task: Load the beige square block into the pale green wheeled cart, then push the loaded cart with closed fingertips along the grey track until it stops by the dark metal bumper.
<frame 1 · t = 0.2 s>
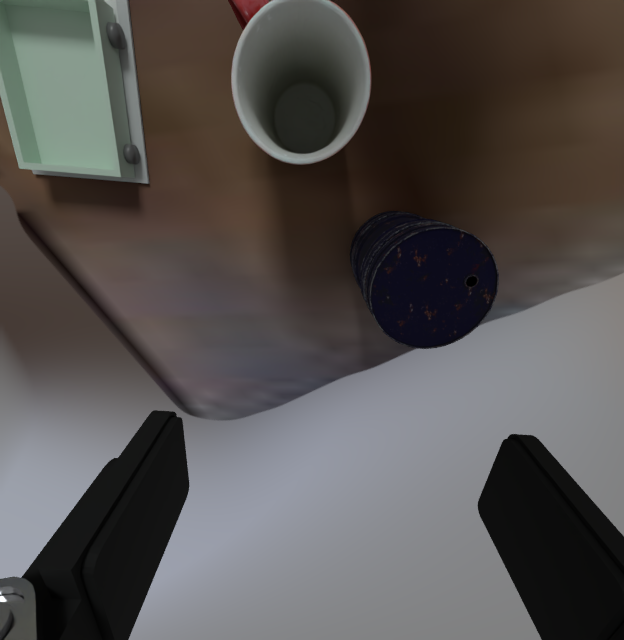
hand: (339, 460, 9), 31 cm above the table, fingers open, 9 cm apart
cart: (64, 92, 30), point 2 cm above the table, slide at 0.0 cm
mug: (296, 105, 32), on the table
track: (61, 3, 29), on the table
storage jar: (389, 253, 38), on the table
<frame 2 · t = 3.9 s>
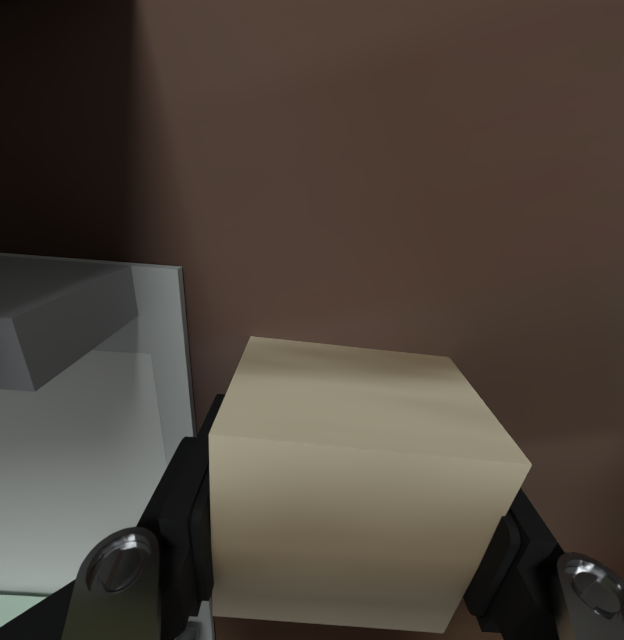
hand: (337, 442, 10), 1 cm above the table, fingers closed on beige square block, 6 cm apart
beige square block: (336, 425, 11), on the table, touching gripper
track: (71, 578, 14), on the table
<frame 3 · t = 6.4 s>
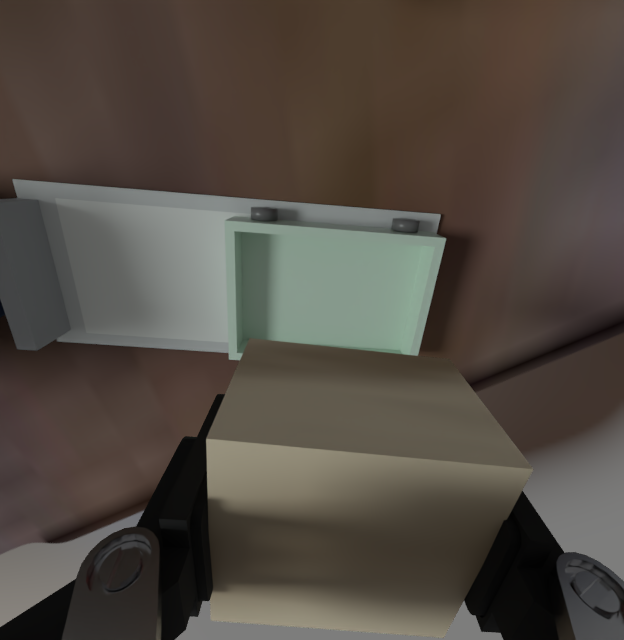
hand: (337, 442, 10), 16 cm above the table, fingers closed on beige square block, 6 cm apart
cart: (327, 297, 23), point 2 cm above the table, slide at 0.0 cm
beige square block: (336, 427, 11), point 15 cm above the table, touching gripper
track: (234, 282, 25), on the table
when the fingers open (4 cm above the table, at t = 8.8 s): beige square block drops 2 cm, resting on cart.
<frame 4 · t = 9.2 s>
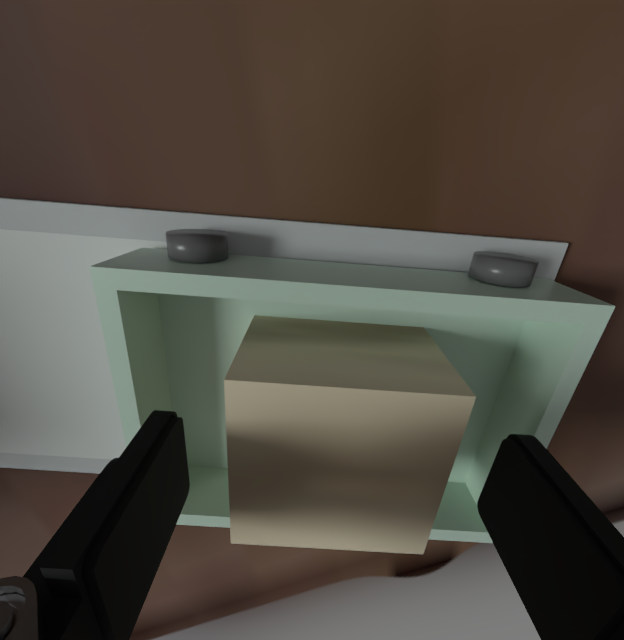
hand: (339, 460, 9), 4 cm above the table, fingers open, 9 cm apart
cart: (334, 405, 12), point 2 cm above the table, slide at 0.0 cm, touching beige square block
beige square block: (331, 391, 12), point 1 cm above the table, touching cart
track: (159, 364, 13), on the table
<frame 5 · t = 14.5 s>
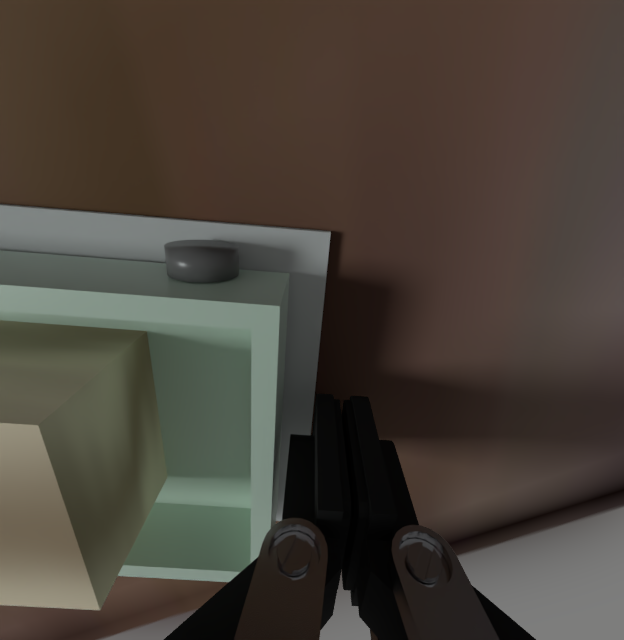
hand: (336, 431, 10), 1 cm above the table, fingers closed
cart: (52, 423, 10), point 2 cm above the table, slide at 0.6 cm, touching gripper, beige square block
beige square block: (67, 405, 10), point 1 cm above the table, touching cart
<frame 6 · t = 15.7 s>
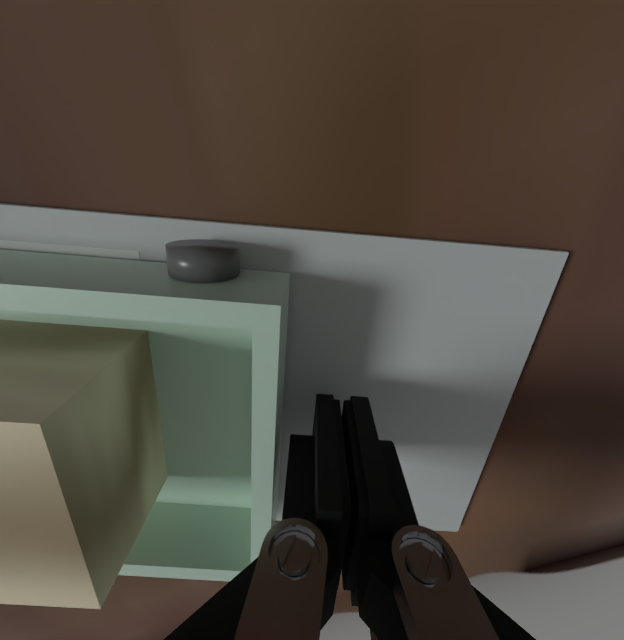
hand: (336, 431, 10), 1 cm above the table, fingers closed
cart: (52, 422, 10), point 2 cm above the table, slide at 7.5 cm, touching gripper, beige square block
beige square block: (67, 405, 10), point 1 cm above the table, touching cart
track: (100, 387, 12), on the table
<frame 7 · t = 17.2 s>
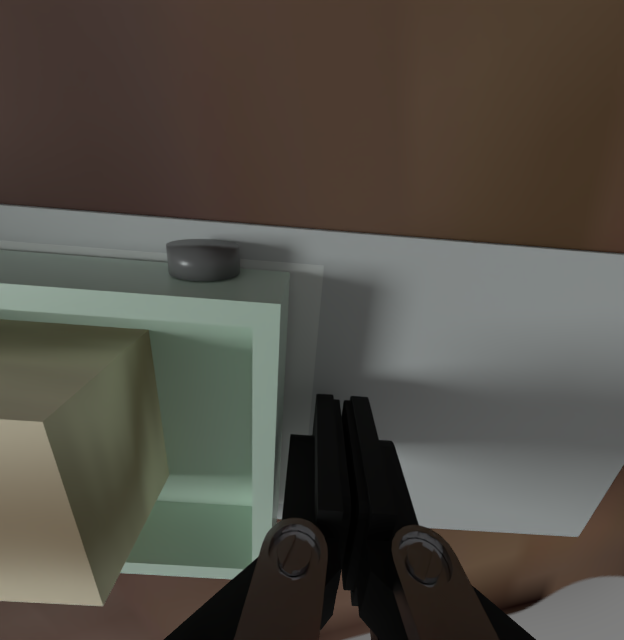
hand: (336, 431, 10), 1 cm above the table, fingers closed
cart: (54, 422, 10), point 2 cm above the table, slide at 13.0 cm, touching gripper, beige square block
beige square block: (69, 404, 11), point 1 cm above the table, touching cart
track: (250, 396, 12), on the table
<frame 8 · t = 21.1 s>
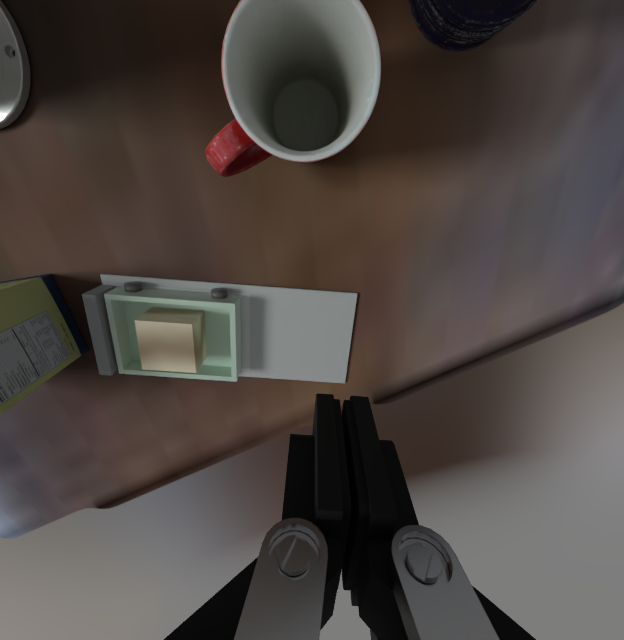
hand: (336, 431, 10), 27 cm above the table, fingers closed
protein box: (16, 322, 39), on the table
cart: (178, 335, 37), point 2 cm above the table, slide at 13.0 cm, touching beige square block
mug: (291, 131, 31), on the table
beige square block: (180, 331, 38), point 1 cm above the table, touching cart
track: (231, 331, 39), on the table
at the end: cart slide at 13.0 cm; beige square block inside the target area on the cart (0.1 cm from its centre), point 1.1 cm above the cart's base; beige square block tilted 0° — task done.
